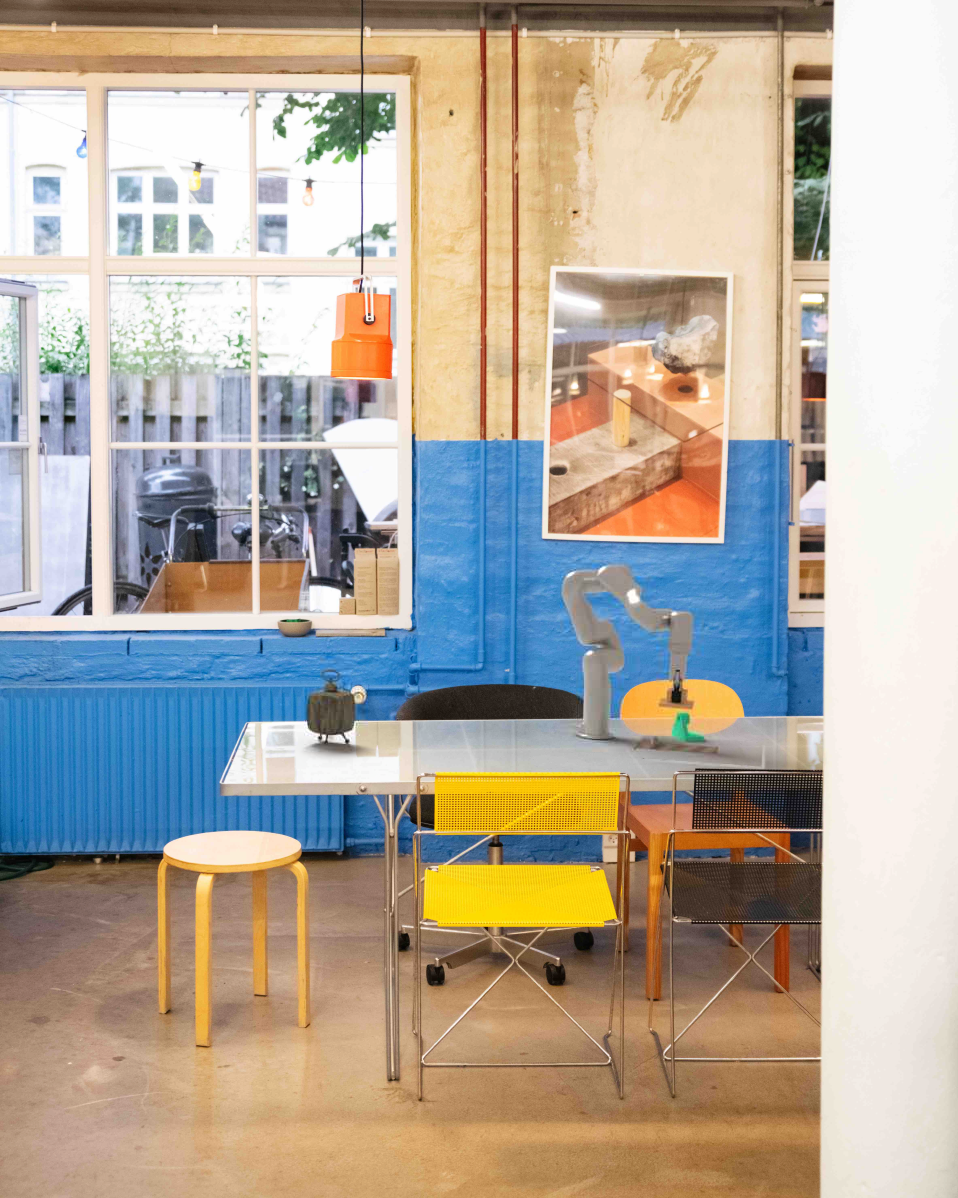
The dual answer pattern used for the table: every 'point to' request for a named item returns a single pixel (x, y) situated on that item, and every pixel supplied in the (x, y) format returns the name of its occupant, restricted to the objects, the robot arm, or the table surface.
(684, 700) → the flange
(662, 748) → the board
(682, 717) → the camera mount
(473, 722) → the table surface
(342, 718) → the tabletop clock
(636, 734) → the table surface
